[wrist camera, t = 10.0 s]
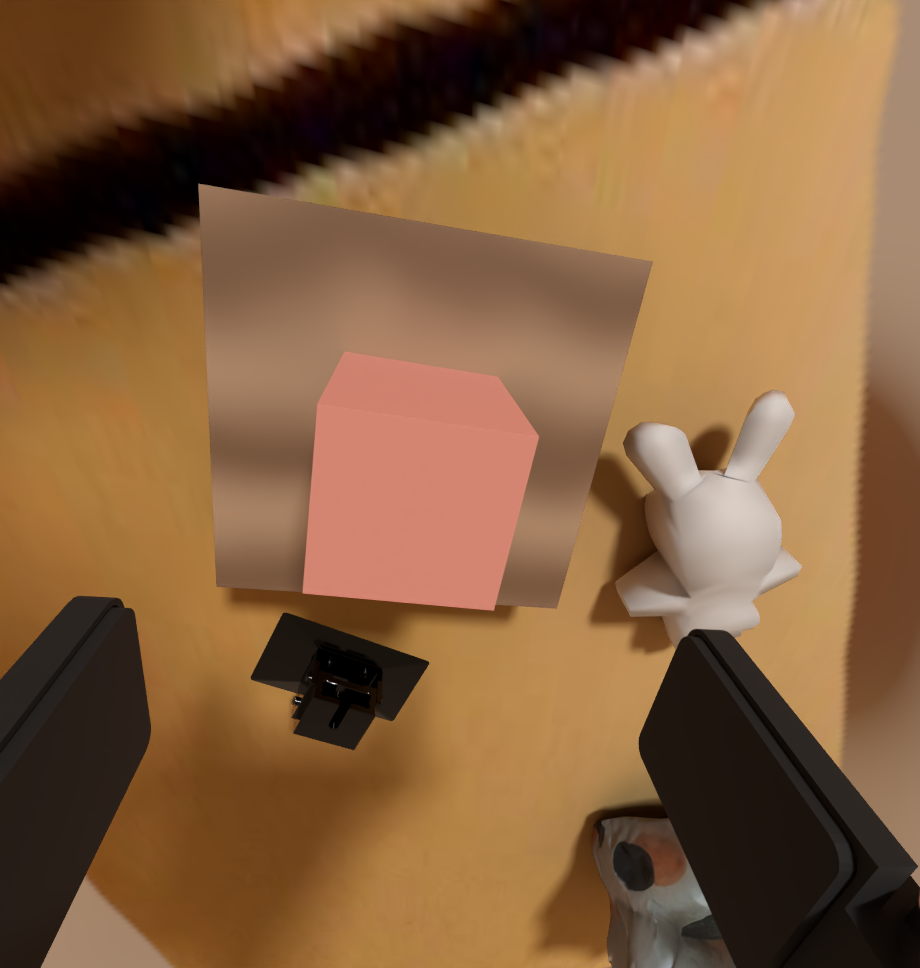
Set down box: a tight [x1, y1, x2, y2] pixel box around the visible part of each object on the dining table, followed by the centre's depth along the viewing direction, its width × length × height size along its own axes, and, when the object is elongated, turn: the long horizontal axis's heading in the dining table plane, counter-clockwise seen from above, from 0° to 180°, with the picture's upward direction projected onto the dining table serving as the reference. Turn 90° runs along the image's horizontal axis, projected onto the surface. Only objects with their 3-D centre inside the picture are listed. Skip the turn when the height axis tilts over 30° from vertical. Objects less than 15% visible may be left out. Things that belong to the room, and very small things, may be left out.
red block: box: [303, 352, 539, 611], centre depth 18 cm, size 6×6×7 cm
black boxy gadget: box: [251, 613, 429, 750], centre depth 31 cm, size 12×7×5 cm, turn 61°
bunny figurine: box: [615, 390, 802, 649], centre depth 28 cm, size 10×5×15 cm
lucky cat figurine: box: [592, 817, 736, 968], centre depth 37 cm, size 15×12×14 cm
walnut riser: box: [199, 184, 653, 609], centre depth 24 cm, size 16×16×5 cm
